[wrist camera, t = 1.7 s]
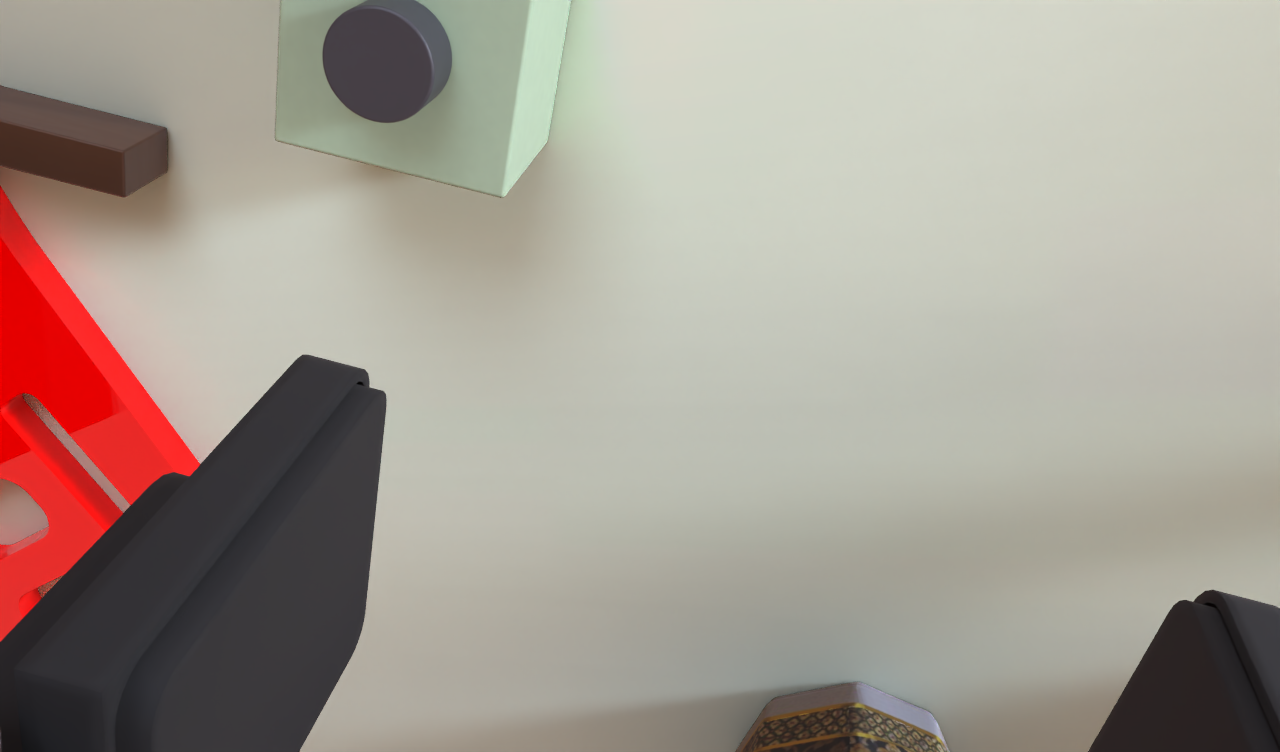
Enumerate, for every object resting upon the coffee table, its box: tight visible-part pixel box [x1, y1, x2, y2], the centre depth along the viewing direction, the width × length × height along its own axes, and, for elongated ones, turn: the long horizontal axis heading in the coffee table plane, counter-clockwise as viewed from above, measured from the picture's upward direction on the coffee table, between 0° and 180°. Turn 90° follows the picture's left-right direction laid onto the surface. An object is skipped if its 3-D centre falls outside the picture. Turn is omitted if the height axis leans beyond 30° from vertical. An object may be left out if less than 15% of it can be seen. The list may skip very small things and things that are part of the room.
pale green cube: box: [275, 0, 571, 198], centre depth 23 cm, size 5×5×5 cm
